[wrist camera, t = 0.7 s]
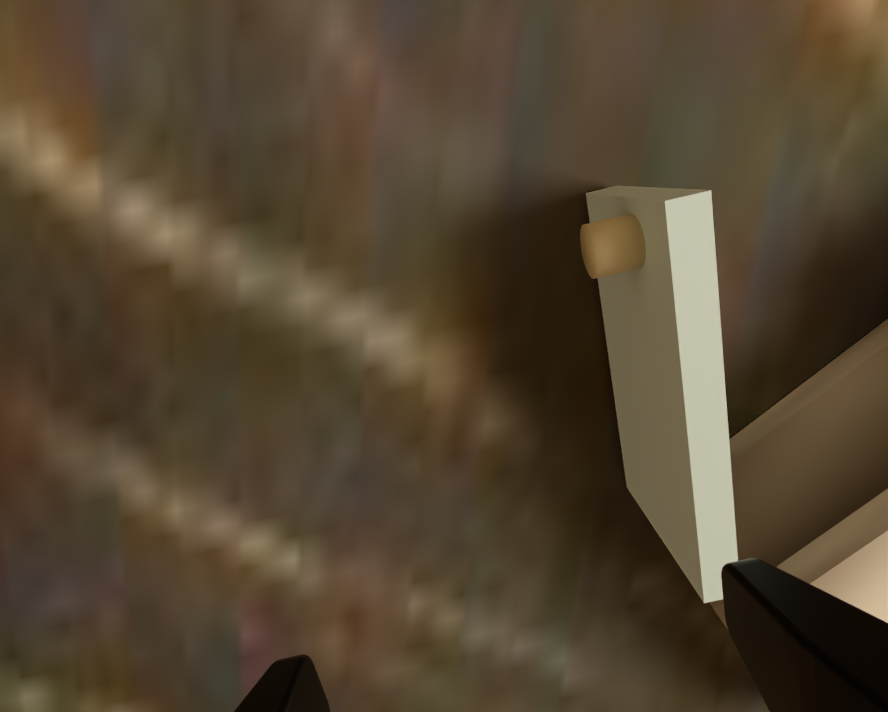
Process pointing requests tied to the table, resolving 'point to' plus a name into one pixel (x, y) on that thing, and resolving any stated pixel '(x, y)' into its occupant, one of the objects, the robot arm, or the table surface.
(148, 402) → the table surface
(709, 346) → the cabinet door
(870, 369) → the cabinet
